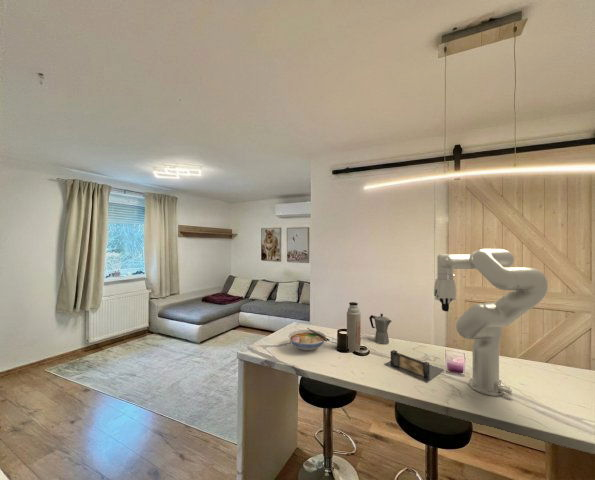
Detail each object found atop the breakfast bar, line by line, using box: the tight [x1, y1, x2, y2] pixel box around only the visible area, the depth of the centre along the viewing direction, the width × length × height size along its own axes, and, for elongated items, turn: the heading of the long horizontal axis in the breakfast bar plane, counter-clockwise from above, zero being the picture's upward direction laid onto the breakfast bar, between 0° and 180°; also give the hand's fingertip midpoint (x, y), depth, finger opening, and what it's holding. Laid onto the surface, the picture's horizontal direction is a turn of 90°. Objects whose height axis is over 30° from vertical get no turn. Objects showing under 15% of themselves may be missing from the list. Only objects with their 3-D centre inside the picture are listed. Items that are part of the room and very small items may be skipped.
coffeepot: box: [369, 313, 392, 345], centre depth 168 cm, size 15×9×18 cm, turn 44°
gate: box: [396, 351, 424, 375], centre depth 129 cm, size 14×2×6 cm, turn 39°
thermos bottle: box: [346, 301, 362, 353], centre depth 154 cm, size 8×8×28 cm
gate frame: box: [383, 349, 445, 383], centre depth 133 cm, size 22×18×7 cm
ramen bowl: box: [288, 327, 330, 352], centre depth 157 cm, size 25×23×8 cm
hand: (445, 310), depth 140 cm, fingers closed
